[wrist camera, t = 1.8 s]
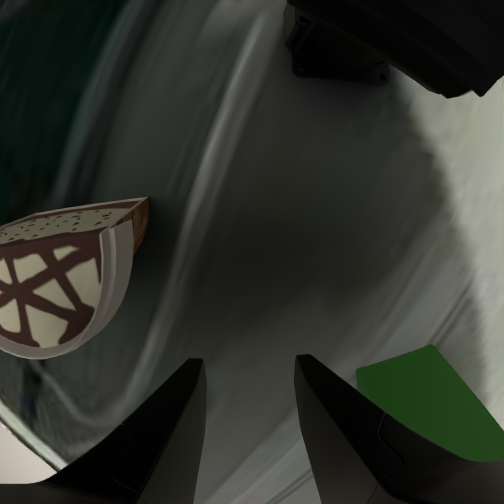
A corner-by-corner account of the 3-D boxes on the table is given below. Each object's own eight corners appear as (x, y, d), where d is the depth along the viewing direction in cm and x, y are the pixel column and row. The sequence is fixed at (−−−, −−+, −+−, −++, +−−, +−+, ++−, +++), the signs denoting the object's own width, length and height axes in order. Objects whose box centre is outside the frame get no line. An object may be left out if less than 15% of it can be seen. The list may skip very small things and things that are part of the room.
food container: (38, 291, 22) (-36, 357, 12) (21, 215, 20) (-71, 256, 10) (182, 284, 22) (148, 376, 12) (170, 194, 20) (114, 231, 10)
